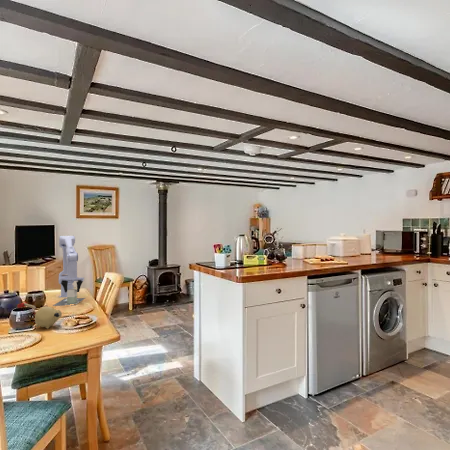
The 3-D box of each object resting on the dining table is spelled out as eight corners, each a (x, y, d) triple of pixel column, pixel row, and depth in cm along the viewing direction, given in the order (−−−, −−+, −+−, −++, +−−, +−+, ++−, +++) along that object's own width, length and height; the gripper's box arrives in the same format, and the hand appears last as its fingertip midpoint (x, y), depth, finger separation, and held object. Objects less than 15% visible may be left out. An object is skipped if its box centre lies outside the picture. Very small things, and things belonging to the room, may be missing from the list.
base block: (69, 302, 208) (69, 295, 208) (76, 302, 209) (76, 295, 209) (67, 304, 204) (67, 297, 204) (74, 303, 204) (74, 297, 204)
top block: (69, 295, 208) (69, 288, 208) (76, 295, 208) (76, 288, 208) (67, 297, 204) (67, 290, 203) (74, 297, 204) (74, 290, 204)
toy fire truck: (40, 322, 167) (40, 304, 167) (17, 321, 168) (17, 303, 168) (45, 320, 170) (45, 302, 170) (21, 319, 172) (21, 302, 172)
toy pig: (58, 329, 156) (58, 308, 156) (31, 331, 153) (31, 309, 153) (63, 323, 165) (63, 303, 165) (38, 325, 162) (38, 304, 162)
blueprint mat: (64, 298, 219) (64, 298, 219) (85, 298, 220) (85, 297, 220) (52, 306, 199) (52, 305, 199) (75, 305, 201) (75, 305, 201)
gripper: (58, 272, 201) (57, 293, 201) (81, 272, 203) (81, 293, 203) (62, 270, 208) (62, 291, 208) (85, 270, 210) (85, 290, 210)
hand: (72, 292), depth 206 cm, fingers open, 7 cm apart
